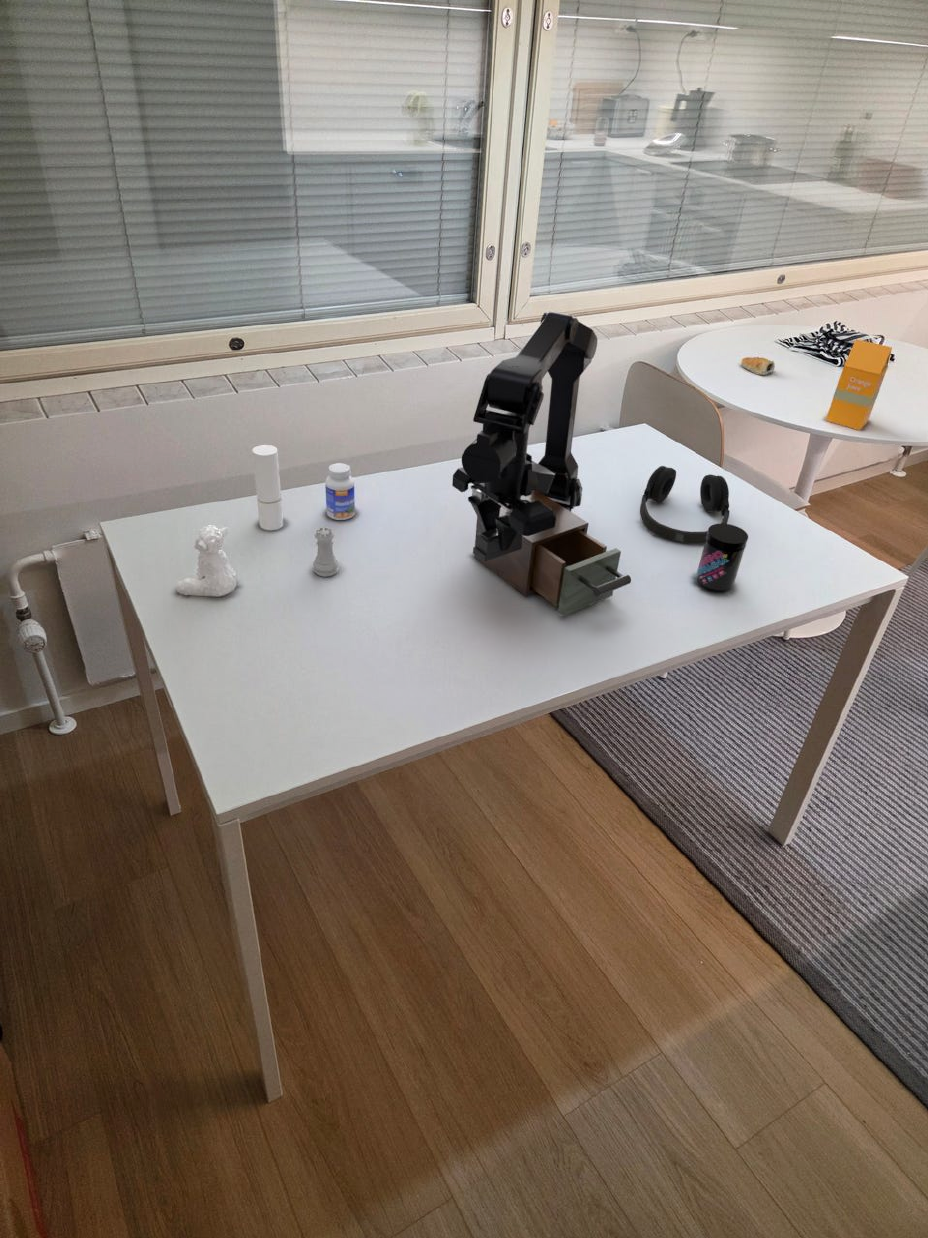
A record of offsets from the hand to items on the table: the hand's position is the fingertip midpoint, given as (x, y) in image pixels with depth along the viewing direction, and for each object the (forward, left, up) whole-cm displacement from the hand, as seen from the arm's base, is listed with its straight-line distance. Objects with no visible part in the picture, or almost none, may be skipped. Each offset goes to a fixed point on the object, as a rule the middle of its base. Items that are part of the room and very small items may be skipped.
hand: (498, 545), depth 131 cm
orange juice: (-129, -16, -12) cm, 130 cm away
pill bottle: (+6, -39, -12) cm, 42 cm away
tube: (+19, -42, -12) cm, 48 cm away
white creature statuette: (+36, -28, -12) cm, 48 cm away
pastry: (-139, -52, -12) cm, 149 cm away
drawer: (-13, +5, -11) cm, 18 cm away
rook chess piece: (+18, -23, -12) cm, 32 cm away
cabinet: (-13, -6, -12) cm, 19 cm away
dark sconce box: (0, 0, -1) cm, 1 cm away
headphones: (-51, -3, -12) cm, 52 cm away
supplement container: (-38, +16, -12) cm, 43 cm away
